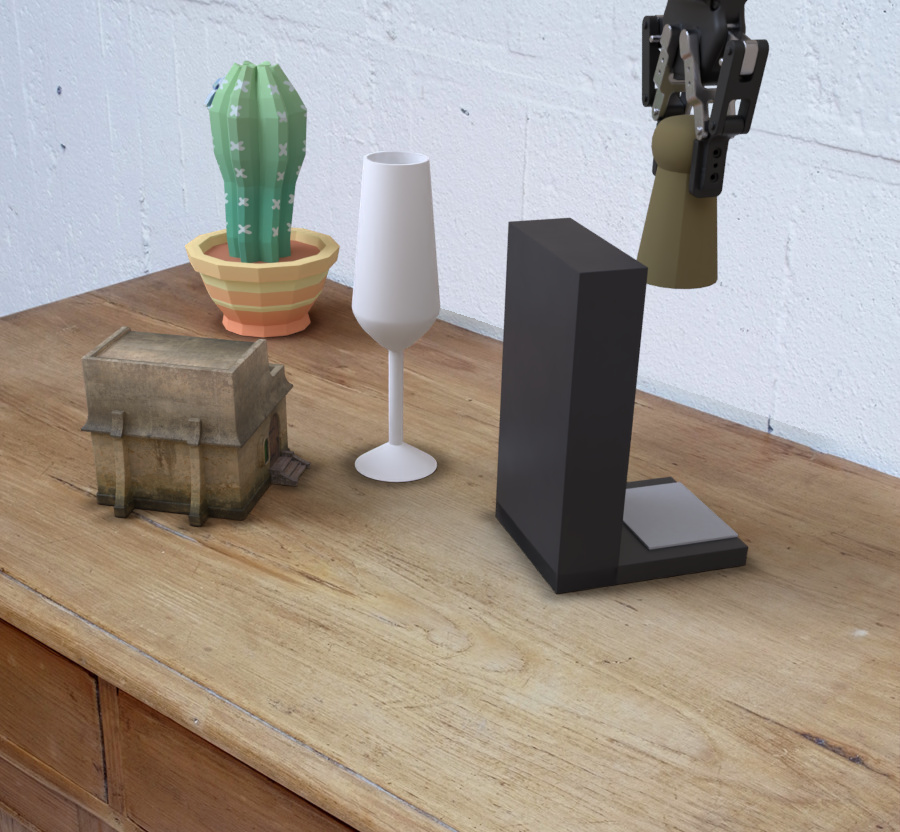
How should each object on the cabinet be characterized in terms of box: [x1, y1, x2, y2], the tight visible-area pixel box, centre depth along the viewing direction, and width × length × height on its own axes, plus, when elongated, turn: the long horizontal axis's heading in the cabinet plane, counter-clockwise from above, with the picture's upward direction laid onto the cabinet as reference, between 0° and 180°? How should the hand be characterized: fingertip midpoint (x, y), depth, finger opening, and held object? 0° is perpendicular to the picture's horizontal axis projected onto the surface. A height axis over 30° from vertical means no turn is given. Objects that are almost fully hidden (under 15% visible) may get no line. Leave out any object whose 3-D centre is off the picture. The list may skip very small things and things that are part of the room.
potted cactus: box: [184, 60, 341, 338], centre depth 129 cm, size 15×15×25 cm
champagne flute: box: [351, 150, 441, 483], centre depth 100 cm, size 7×7×24 cm
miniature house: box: [80, 325, 312, 527], centre depth 100 cm, size 15×14×11 cm
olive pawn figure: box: [635, 114, 730, 290], centre depth 92 cm, size 6×6×11 cm
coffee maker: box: [494, 217, 749, 595], centre depth 90 cm, size 14×12×22 cm
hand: (685, 185), depth 92 cm, fingers closed on olive pawn figure, 5 cm apart
